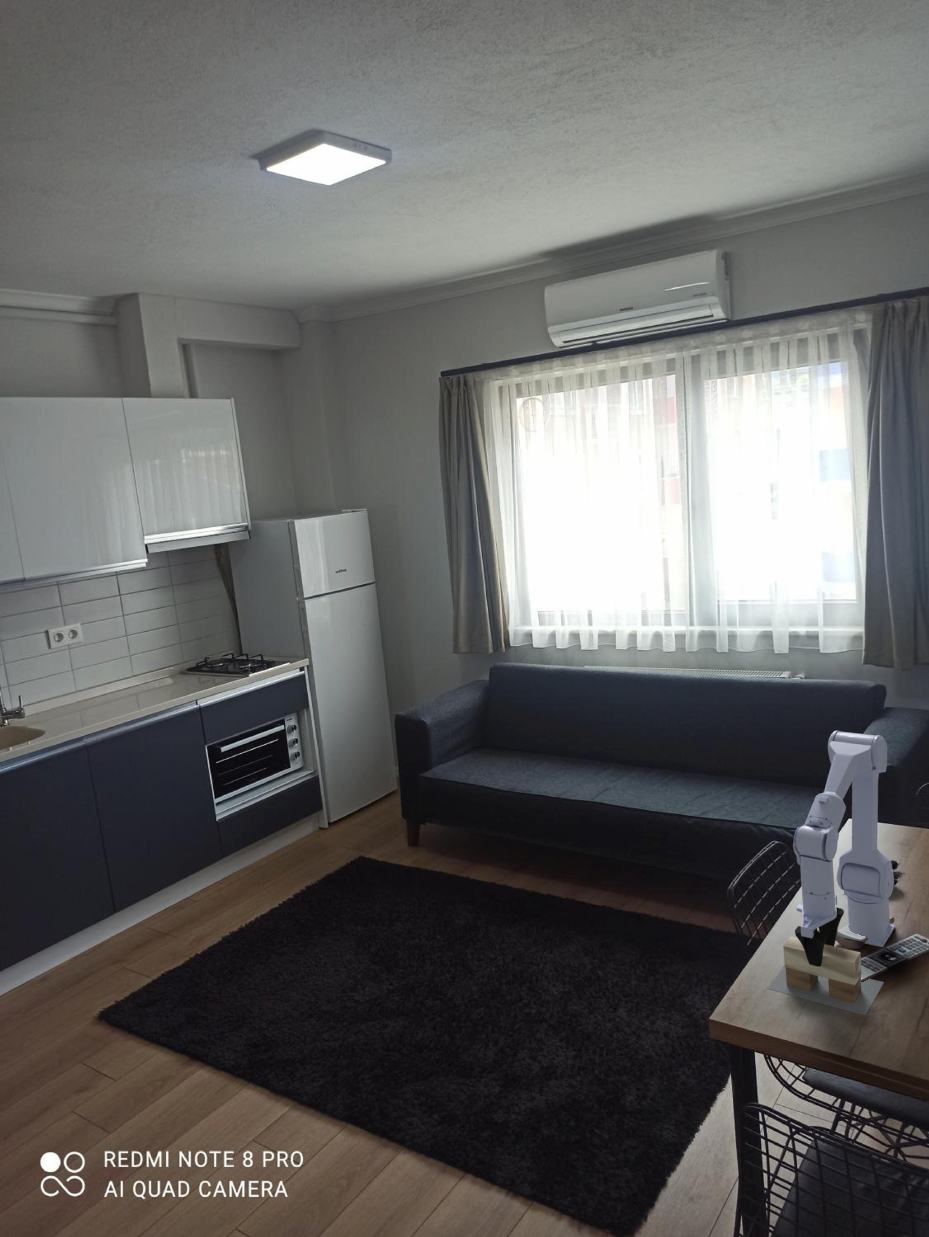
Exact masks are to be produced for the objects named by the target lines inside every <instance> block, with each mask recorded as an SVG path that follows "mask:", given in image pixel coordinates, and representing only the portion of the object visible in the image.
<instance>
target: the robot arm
mask: <svg viewBox="0 0 929 1237" xmlns="http://www.w3.org/2000/svg"><path fill="white" fill-rule="evenodd" d="M827 753H828V757H829V761H830V768H829V773H828V775H827V778H826V779H827V780H826V783H825V788H824V790H823V792H822V793H818V794H817V795H816V796H815V797H814V800H813V803H812V805H811V807H810V810H809V812H808V815H807V816H806V819H805V823H804V824H803V825H801V826H798V827H797V828H796V829H795V832H794V836H793V844H792V848H793V852H794V854H795V856H796V862H797V865H799V866H800V882H801V895H802V903H798V905H797V906H796V911H797V912H799V913H801V916H802V917H801V918H802V923H801V926H800V925H798V926H797V927H796V928H795V931H794V934H795V938H798V939H799V941H800V942H801V944H802V946H803V948H804V951H805V954H806V957H807V960H808V962H809V964H810V965H813V966H817V967H820V966H821V964H822V959H823V949H824V944H826V945H830V946H834V947H835V945H836V941H837V934H838V930H839V926H840V923H841V921H842V917H843V916H844V914H845V910H844V909H843V908H841V907H838V906H837V905H838V895H837V894H836V893H835V892H836V891H835V879H834V878H835V876H834V874H835V873H834V859H835V856H836V854H837V850H838V842H839V836H840V834H839V828H840V826H841V823H842V821H843V818H844V815H845V812H846V810H847V809H846V808H847V806H846V804H845V802H844V798H845V797H846V794H847V792H848V790H849V788H850V786H851V788H852V789H851V790H852V791H851V793H852V794H851V802H852V803H851V848H849V849H848V850H845V851H844V852H842V854H841V855H840V856H839V859H838V866H837V872H836V882H837V885H838V887H839V888H840V890H841V891H843V895H844V896H846V897H847V915H848V918H847V919H848V927H849V930H850V931H851V932H853V933H855V934H859V935H861V936H865V937H867V938H868V940H867V941H866V942H865V943H864V944H867V945H871V946H876V947H881V948H883V947H885V944H886V943H887V941H888V939H889V938H890V937H891V935H892V933H893V931H894V930H895V926H896V925H895V924H892V923H891V920H890V900H889V898H890V897H891V896H892V893H893V892H894V886H895V885H894V875H893V872H892V864H891V859H890V858H888V857H887V856H886V855H885V854H883V853H882V852H881V851H880V850H879V849H878V823H879V822H878V810H879V808H878V807H879V806H878V805H879V775H880V774H881V773H886V771H887V767H888V744H887V742H886V740H885V738H884V737H883V735H880V734H876V735H875V734H874V735H872V734H864V733H856V732H855V733H854V732H846V731H841V730H834V731H833V732H832V733H831V734H830V736H829V738H828V741H827Z"/></svg>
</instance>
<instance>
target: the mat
mask: <svg viewBox="0 0 929 1237" xmlns="http://www.w3.org/2000/svg"><path fill="white" fill-rule="evenodd" d="M884 983H885V982H884V981H881V980H876V979H871V978H869V979H868V980H866V981H864V982H861V993H860V994H859V996H858V998H857V999H856V1001H855V1003H852V1002H848V1001H844V1000H840V999H837V998H833V997H829V984H828V978H824V977H820V976H818V981H817V982H816V984H815V985H814V987H813V988H812V990H811V991H807V990H803V989H799V988H796V987H792V986H788V985H787V982H786V968H785V965H784V966H783V967H782V968H781V970H779V972H778V973H777V975H776V976H775V978H774V979H773V980H772V981H771V983H770V984H769V986H768V987H767V990H770V991H775V992H777V993H778V992H779V993H782V994H786V995H790V996H793V997H797V998H800V999H804V1000H807V1001H811V1002H814V1003H818V1004H823V1005H826V1006H829V1007H833V1008H837V1009H840V1010H844V1011H847V1012H851V1013H855V1014H858V1015H862V1016H866V1015H867V1013H868V1012H869V1010H870V1009H871V1006H872V1005H873V1003H874V1001H875V999H876V998H877V996H878V994H879V992H880V991H881V989H882V987H883V985H884Z"/></svg>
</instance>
